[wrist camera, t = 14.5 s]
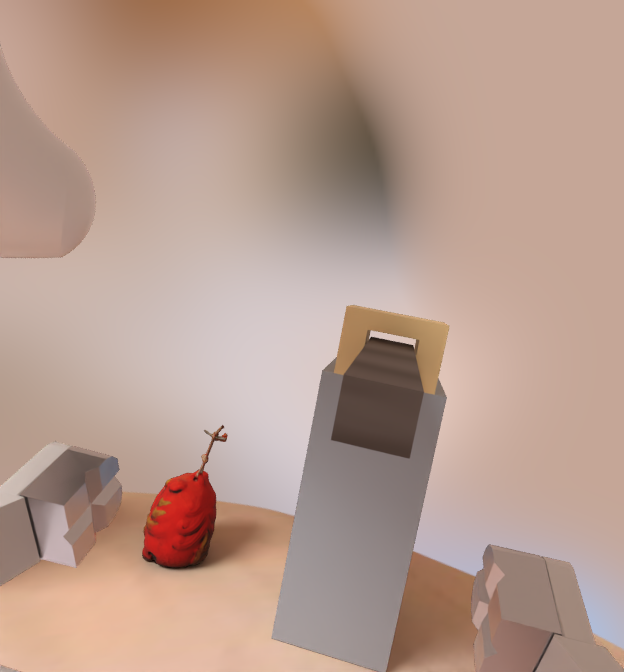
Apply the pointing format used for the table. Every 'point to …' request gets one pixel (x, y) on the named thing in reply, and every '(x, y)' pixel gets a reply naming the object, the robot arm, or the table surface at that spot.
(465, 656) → the table surface
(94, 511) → the robot arm
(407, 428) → the block
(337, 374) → the post
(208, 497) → the red clay folk toy
